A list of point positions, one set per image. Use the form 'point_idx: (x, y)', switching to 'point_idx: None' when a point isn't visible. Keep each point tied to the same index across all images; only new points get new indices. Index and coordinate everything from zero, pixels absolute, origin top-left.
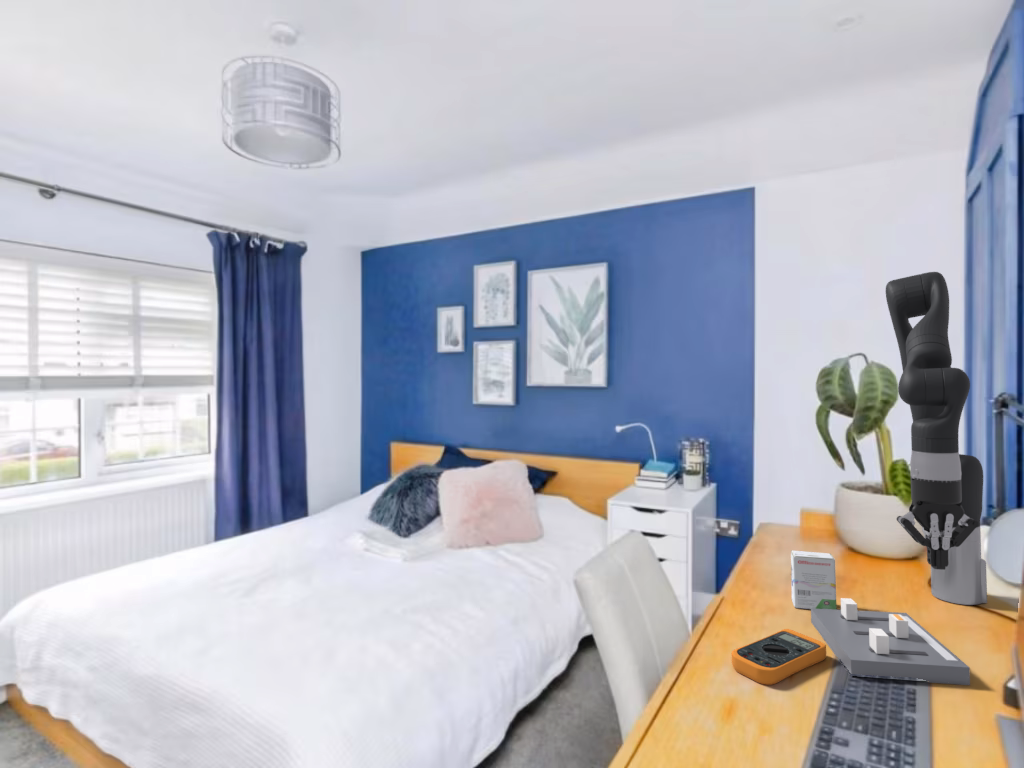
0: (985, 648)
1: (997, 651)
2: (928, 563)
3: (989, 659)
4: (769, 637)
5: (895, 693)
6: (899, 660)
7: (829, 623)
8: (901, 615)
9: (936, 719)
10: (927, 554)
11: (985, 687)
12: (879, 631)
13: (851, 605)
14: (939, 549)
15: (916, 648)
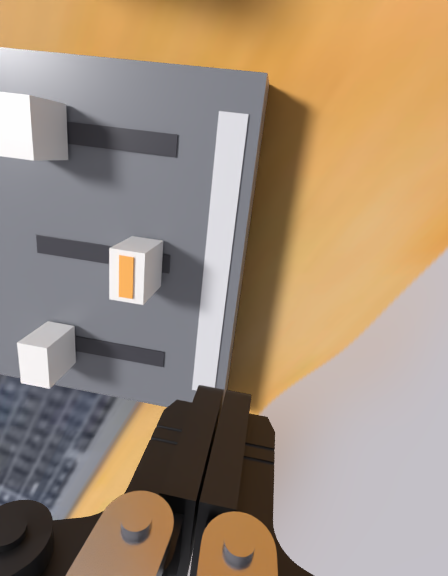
0: (407, 234)
1: (425, 252)
2: (175, 401)
3: (362, 294)
4: None
5: (77, 405)
6: (89, 382)
7: None
8: (143, 262)
9: (107, 469)
10: (145, 453)
11: (252, 399)
12: (36, 362)
13: (18, 157)
14: (193, 564)
15: (154, 333)
